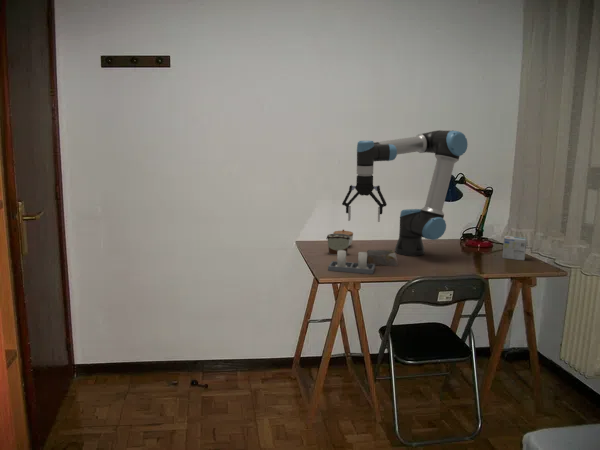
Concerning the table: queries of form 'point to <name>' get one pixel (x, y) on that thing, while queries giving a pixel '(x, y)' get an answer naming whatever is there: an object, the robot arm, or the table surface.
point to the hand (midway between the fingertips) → (363, 220)
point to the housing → (348, 265)
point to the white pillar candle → (362, 260)
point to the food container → (337, 243)
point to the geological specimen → (382, 257)
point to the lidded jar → (346, 234)
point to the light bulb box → (514, 248)
